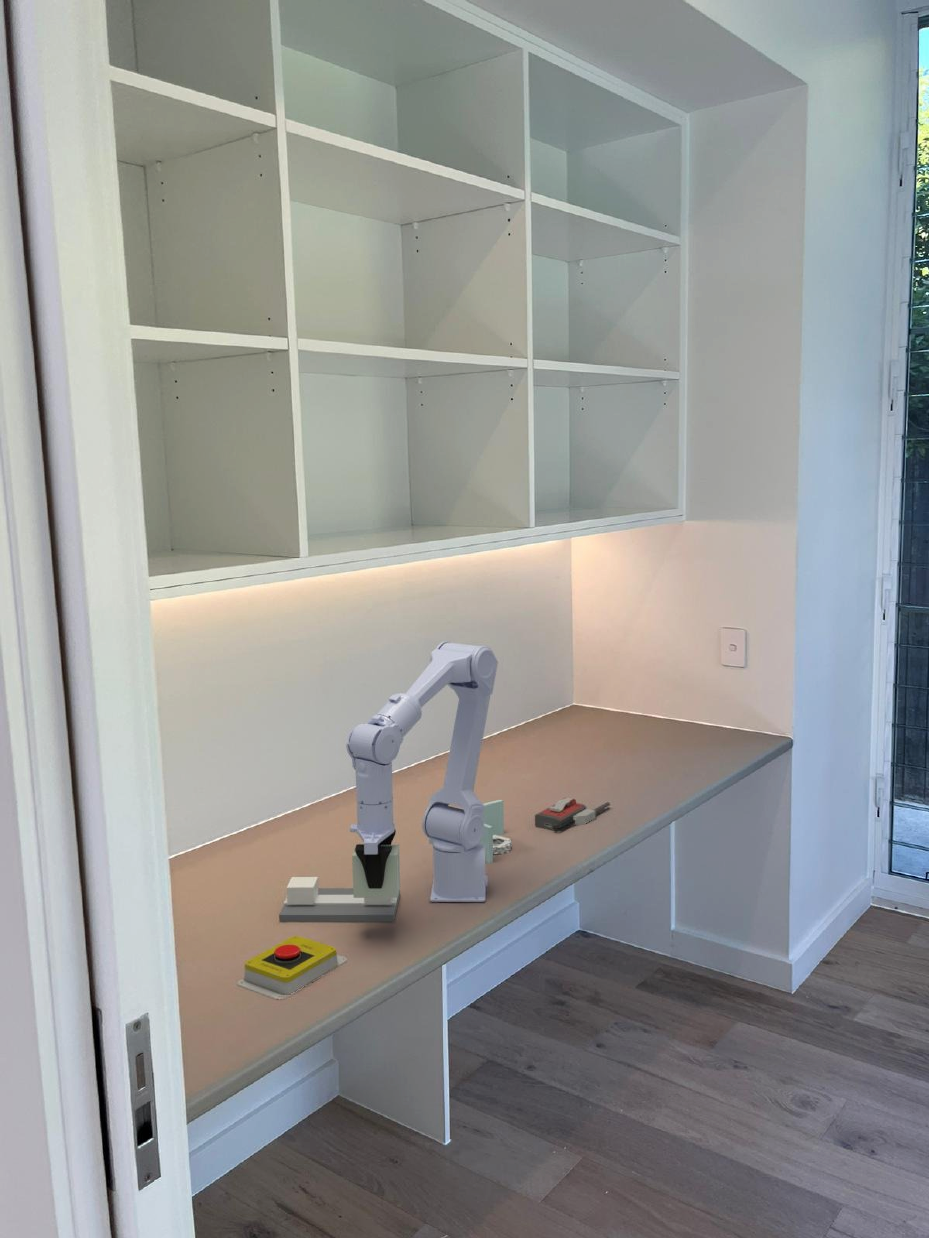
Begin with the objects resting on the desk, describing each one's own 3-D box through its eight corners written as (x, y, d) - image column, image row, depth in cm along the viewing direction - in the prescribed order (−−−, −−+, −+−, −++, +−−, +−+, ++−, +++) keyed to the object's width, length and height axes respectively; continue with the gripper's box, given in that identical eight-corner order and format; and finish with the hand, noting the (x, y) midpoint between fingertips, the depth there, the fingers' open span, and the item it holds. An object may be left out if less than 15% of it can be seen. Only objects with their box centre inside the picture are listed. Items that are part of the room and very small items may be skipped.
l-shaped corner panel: (489, 866, 199) (488, 827, 198) (452, 848, 209) (451, 811, 208) (538, 851, 206) (538, 814, 205) (500, 834, 216) (500, 799, 215)
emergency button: (232, 959, 154) (303, 921, 166) (234, 987, 154) (304, 947, 167) (279, 975, 149) (348, 935, 161) (280, 1004, 149) (349, 962, 162)
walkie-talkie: (566, 837, 213) (613, 810, 229) (566, 816, 212) (613, 791, 228) (529, 829, 218) (577, 803, 234) (529, 808, 217) (577, 784, 234)
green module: (400, 885, 171) (399, 843, 170) (397, 897, 167) (396, 854, 166) (357, 886, 171) (355, 844, 170) (353, 897, 167) (352, 854, 166)
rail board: (400, 894, 185) (399, 869, 185) (393, 921, 174) (393, 895, 174) (292, 894, 186) (291, 869, 185) (279, 921, 175) (278, 895, 174)
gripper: (355, 785, 174) (357, 864, 176) (343, 814, 160) (346, 900, 162) (398, 784, 174) (400, 863, 176) (389, 814, 160) (392, 899, 162)
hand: (377, 881), depth 169 cm, fingers closed on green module, 4 cm apart
